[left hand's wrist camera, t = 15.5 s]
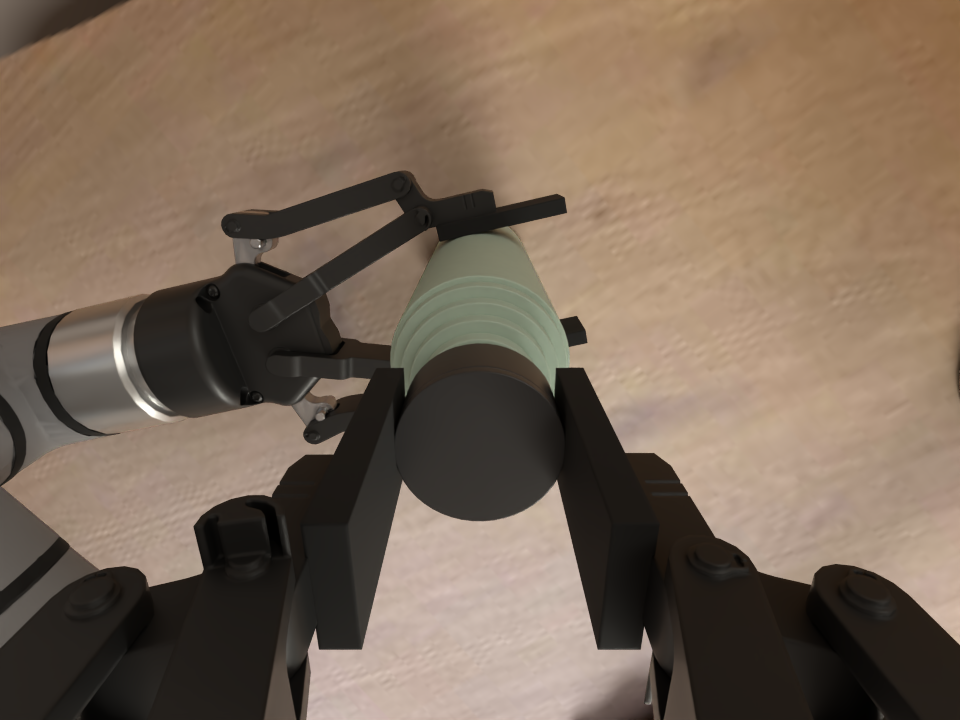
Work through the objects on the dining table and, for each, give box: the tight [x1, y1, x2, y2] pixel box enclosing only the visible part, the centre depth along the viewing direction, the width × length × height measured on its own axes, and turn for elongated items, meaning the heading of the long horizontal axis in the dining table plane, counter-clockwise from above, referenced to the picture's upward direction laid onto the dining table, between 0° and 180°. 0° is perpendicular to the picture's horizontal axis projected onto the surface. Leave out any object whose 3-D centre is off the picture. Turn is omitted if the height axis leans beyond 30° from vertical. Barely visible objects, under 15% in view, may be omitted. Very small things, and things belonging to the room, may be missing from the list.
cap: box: [394, 343, 565, 521], centre depth 14 cm, size 4×4×2 cm
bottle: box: [390, 226, 570, 397], centre depth 24 cm, size 6×6×23 cm
